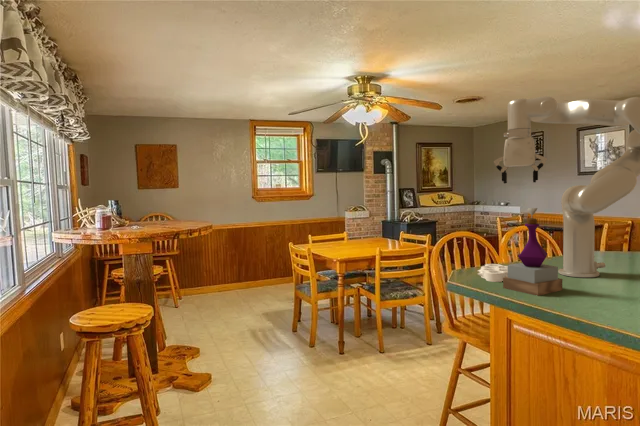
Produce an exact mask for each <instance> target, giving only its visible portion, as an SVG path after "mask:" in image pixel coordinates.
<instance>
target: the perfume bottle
mask: <svg viewBox="0 0 640 426" xmlns="http://www.w3.org/2000/svg"><path fill="white" fill-rule="evenodd" d="M537 210H538V207H529V208H527V212H528V213H529V215H530V217H527V218H526V222H527V223H525V224H524V226H525V227H526V228H527V230H528V239H527V242H526V244H525V246H524V247H523V249H522V251H521V252H520V253H519V255H518V259H519V260H520V261H521V263H523V264H524V265H525V266H528V267H540V266H541V265H542V264H544V261H545V259H546V258H547V256H548V253H547V252H546V250H545V249H544V248H543V247H542V245H541V244H540V243H539V240H538V238H537V229H538V227H540V223H538V219H537V218H534V217H533V215H534V214H536V212H537Z"/></svg>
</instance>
